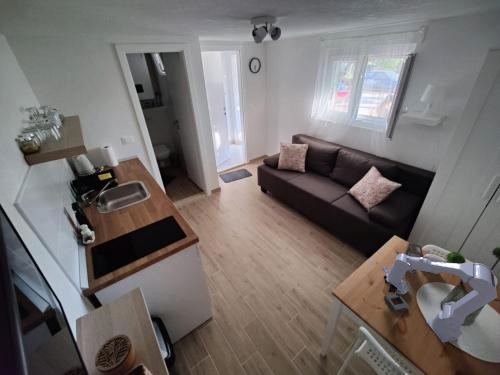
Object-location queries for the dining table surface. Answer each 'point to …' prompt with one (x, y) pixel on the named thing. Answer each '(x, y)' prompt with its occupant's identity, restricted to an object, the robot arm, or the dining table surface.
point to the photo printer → (434, 259)
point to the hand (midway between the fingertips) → (388, 289)
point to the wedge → (387, 289)
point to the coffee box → (413, 252)
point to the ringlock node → (398, 296)
